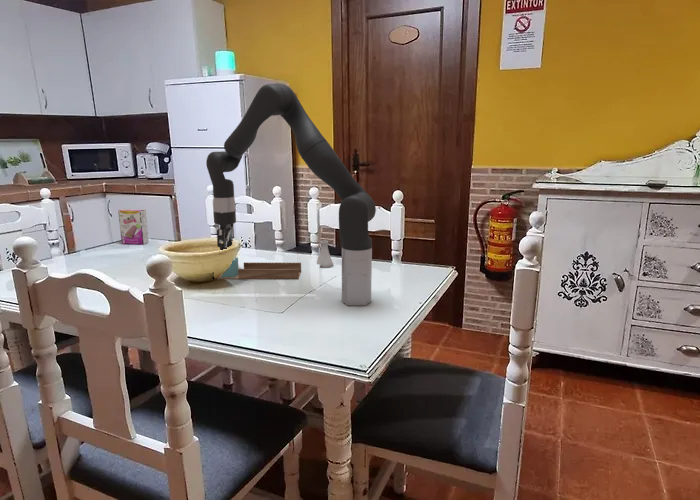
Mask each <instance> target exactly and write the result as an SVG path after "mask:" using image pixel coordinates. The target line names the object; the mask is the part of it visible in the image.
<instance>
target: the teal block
mask: <svg viewBox="0 0 700 500" xmlns="http://www.w3.org/2000/svg"><path fill="white" fill-rule="evenodd" d="M235 257H236V256H235ZM238 269H240V268H239V257H236V258H235V260H233V261H232V264H231V266H230V268H229V269H228V270H227V271H226V272H225V273H224V274H223V275H222V276H221V277H236V276H237V275H238Z"/></svg>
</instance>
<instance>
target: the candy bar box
mask: <svg viewBox="0 0 700 500" xmlns="http://www.w3.org/2000/svg"><path fill="white" fill-rule="evenodd" d="M118 221H119V229H120V230H119V231H120V240H121V245H141V246H144V245H147V244H149V236H148V235H149V233H148V223H147V222H148V221H147V212H146V209H143V208H142V209H141V208H138V209H137V208H122V209H118Z"/></svg>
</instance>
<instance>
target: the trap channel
mask: <svg viewBox="0 0 700 500" xmlns="http://www.w3.org/2000/svg"><path fill="white" fill-rule="evenodd" d="M301 274H302V262H243V268H239V269H238V275H237V276H236V277H219V278H217V279H216V280H299V279H300V277H301Z"/></svg>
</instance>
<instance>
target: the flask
mask: <svg viewBox="0 0 700 500" xmlns="http://www.w3.org/2000/svg"><path fill="white" fill-rule="evenodd" d="M319 242H320V250H319V253H318V256H317V260H316V262H315V263H316V264H317V265H319V267H320V268H332V267H333V266H334V263H333V259H332V257H331V254H330V251H329V247H328V245H329V241H328V240H325V239H324V240H320V241H319Z"/></svg>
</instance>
